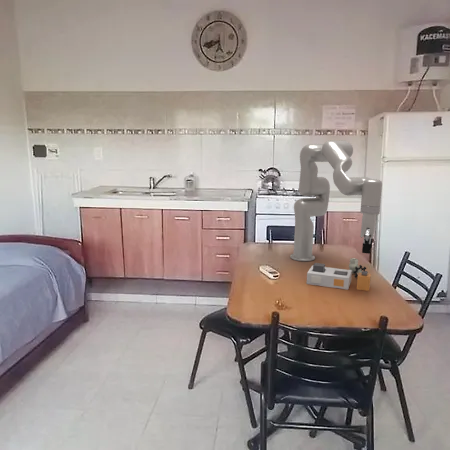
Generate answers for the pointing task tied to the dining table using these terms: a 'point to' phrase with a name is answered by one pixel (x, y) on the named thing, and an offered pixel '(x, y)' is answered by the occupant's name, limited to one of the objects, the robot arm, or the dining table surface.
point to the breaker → (319, 267)
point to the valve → (355, 267)
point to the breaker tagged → (341, 273)
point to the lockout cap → (363, 281)
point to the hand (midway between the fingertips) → (366, 250)
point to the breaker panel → (329, 278)
